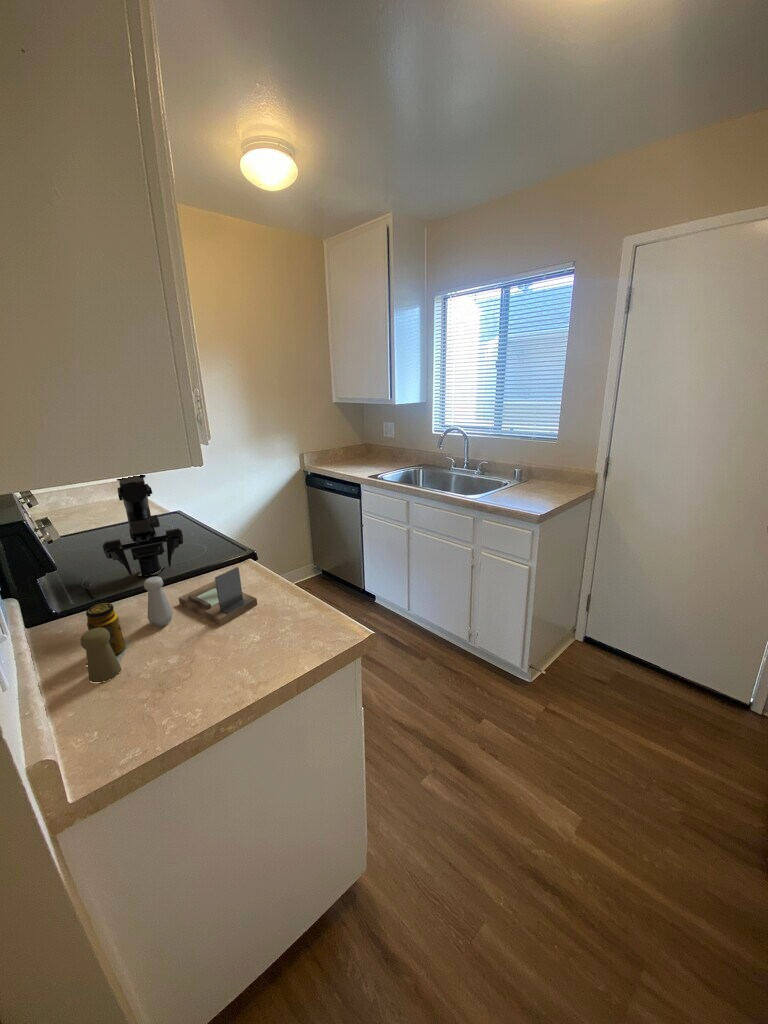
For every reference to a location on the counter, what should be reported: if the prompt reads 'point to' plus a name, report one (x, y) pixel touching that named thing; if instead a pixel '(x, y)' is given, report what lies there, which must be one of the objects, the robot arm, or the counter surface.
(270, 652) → the counter surface
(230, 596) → the bookend
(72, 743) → the counter surface
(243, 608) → the wooden card stand
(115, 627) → the condiment
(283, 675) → the counter surface
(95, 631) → the cork
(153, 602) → the salt shaker
